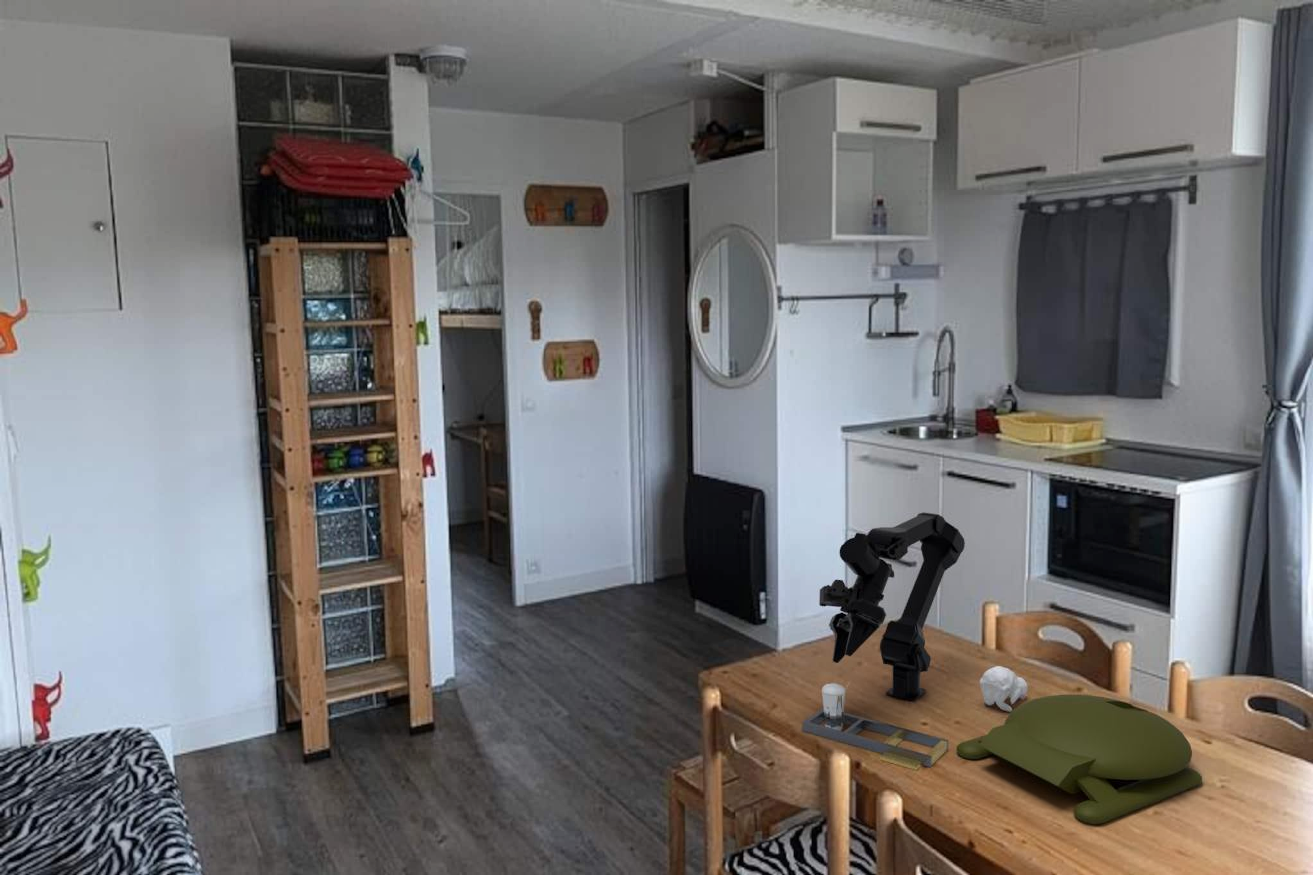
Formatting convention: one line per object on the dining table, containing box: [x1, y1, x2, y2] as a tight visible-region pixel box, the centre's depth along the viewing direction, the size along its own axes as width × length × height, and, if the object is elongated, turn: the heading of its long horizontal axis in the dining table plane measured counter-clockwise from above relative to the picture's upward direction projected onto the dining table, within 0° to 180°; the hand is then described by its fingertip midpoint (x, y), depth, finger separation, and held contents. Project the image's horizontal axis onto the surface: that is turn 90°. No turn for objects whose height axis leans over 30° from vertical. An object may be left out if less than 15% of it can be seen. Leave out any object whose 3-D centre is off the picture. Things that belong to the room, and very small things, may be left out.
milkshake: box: [821, 681, 851, 731], centre depth 189 cm, size 4×5×10 cm
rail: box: [802, 707, 949, 771], centre depth 184 cm, size 13×26×2 cm, turn 52°
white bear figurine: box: [979, 665, 1028, 713], centre depth 199 cm, size 6×8×12 cm
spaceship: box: [956, 693, 1203, 825], centre depth 173 cm, size 35×31×10 cm
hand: (841, 658), depth 186 cm, fingers open, 9 cm apart
